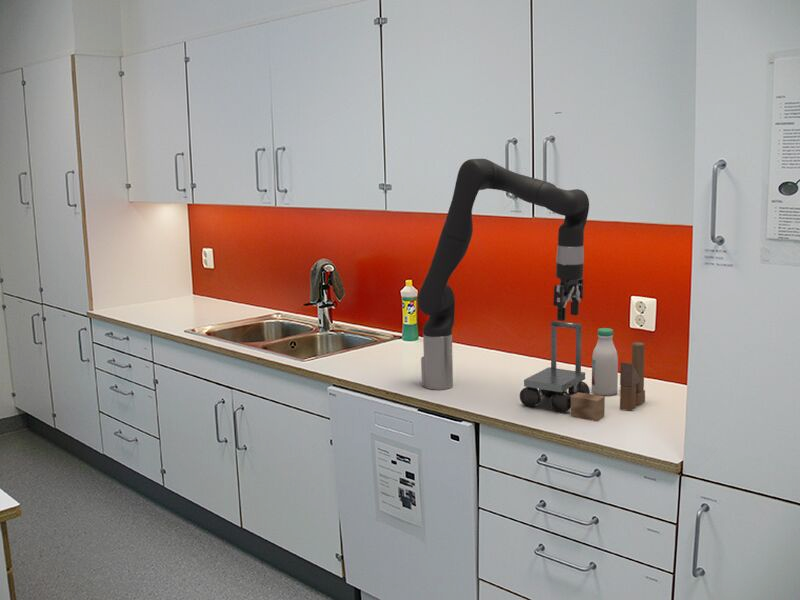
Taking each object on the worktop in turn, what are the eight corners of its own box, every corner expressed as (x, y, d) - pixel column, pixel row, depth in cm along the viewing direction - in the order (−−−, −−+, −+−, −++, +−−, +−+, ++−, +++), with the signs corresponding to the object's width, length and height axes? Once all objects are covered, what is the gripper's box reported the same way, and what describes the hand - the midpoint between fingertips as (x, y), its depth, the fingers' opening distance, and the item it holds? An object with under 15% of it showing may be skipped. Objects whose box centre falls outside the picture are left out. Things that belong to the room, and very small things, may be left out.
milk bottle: (622, 392, 261) (623, 328, 258) (608, 397, 256) (609, 333, 253) (600, 387, 267) (601, 325, 263) (586, 393, 262) (587, 329, 258)
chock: (570, 417, 240) (570, 396, 239) (578, 412, 244) (578, 392, 243) (597, 421, 235) (597, 400, 234) (604, 416, 239) (604, 396, 238)
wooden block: (619, 409, 245) (620, 348, 242) (633, 399, 254) (634, 341, 250) (631, 411, 243) (632, 350, 240) (645, 401, 251) (646, 342, 248)
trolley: (518, 406, 250) (517, 329, 246) (542, 392, 263) (543, 319, 259) (568, 415, 241) (568, 335, 237) (591, 400, 254) (592, 324, 250)
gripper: (568, 257, 246) (566, 311, 249) (546, 263, 235) (544, 320, 238) (593, 259, 242) (590, 314, 245) (571, 265, 230) (569, 324, 234)
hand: (567, 317), depth 241 cm, fingers open, 8 cm apart
